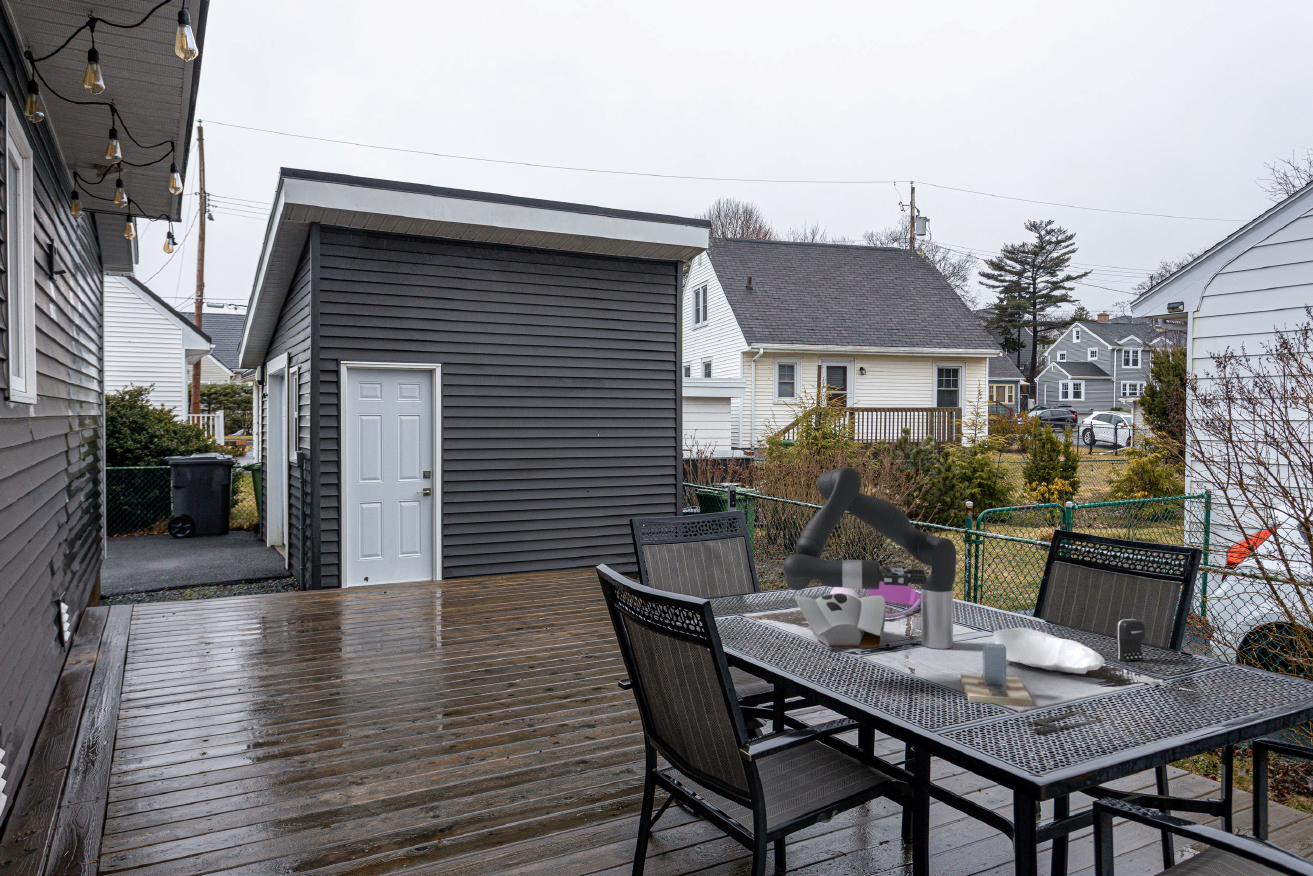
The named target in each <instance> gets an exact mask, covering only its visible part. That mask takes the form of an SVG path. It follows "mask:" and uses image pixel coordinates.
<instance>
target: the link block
mask: <svg viewBox="0 0 1313 876" xmlns="http://www.w3.org/2000/svg"><path fill="white" fill-rule="evenodd" d="M982 674H983V684H984V686H985V687H988V686H991V687H993V686H999V687H1004V688H1006V677H1007V660H1006V647H1005V645H1004V644H995V643H982Z"/></svg>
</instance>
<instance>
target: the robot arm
mask: <svg viewBox="0 0 1313 876" xmlns="http://www.w3.org/2000/svg"><path fill="white" fill-rule="evenodd" d="M861 483H862V482H861V477H860V475H859V473H858V472H857V470H855V469H854V468H852V467H849V466H848V467H845V466H844V467H839V468H836V469H832V470H828V471H826V472H823V473H822V474H821V475H819V477H817V481H816V488H817V491H818V493H819V494H820V496H821V497H822V498H823V499H824V500H825V501H826V502H825V503H824V505H823V506H822V507H821V508H820V509H819V511H818V512H817V513H816V514H815V515H813V517H812V518H810V520H809V521H808V522H807V524H806V526H805V527H804V528H803V530H802V532H801V535H800V536H799V538H798V540H797V543H796V547H795V554H793V555H790V556H788V557H787V558H786V559H785V560H784V561H783V564H782V568H783V569H782V570H783V575H784V576H783V577H784V581H785V584H786V585H787V587H789V588H790V589H791V590H793V591H798V592H799V591H803V590H804V589H806V588H807V587H808V586H809V585H810V583H811V582H812V580H816V581H819V582H820V584H821V585H822V587H825V588H826V587H827V588H828V587H829V588H834V587H844V588H850V589H854V590H868V589H871V590H878V589H879V582H880V581H882V582H884V585H901V586H909V587H910V585H911V584H912V585H920V594H921V605H920V612H921V614H920V616H921V617H920V620H921V621H920V625H921V627H920V631H921V632H920V633H921V634H920V635H921V636H920V641H921V642H920V644H921V645H922V646H923V647H927V648H932V649H939V650H940V649H950V648H951V649H952V648H953V647H954V606H953V605H954V599H953V598H954V597H953V596H954V595H953V593H954V592H953V590H954V587H953V586H954V584H955V580H956V569H957V568H956V567H957V565H956V564H957V550H956V549H957V548H956V546H955V544H954V542H953V541H952V540H951V539H949V538H947V537H942V536H936V535H935V536H934V535H930V534H927V533H925V532H923V531H920V530H919V529H918V528H916V527H915V526H913V525H912V524H911V522H910V519H909V517H908V515H907V514H906V513H905V511H902V509H900V508H899V507H897V506H896V505H895V504H893V503H892V502H889V501H888V500H885V499H882V498H880V497H876V496H873V495H868V494H865V493H861V492H860V489H861V487H862V484H861ZM846 512H848V513H849V514H851V515H852V516H854V517H855V518H857V519H858V520H859V521H861V522H863V523H865V524H866V525H868V526H869V527H870V528H872V529H873V530H874V531H876V532H877V533H878V534H880V535H881V536H884V537H885V538H887V539H889V540H890V541H892V542H893V543H895V544H896V545H899V546H900V547H901V548H903V549H904V550H905V551H907V552H908V553H909V554H910V555H911V556H912V557H913V558H915V560H917V562H919V563H921V564H923V565H924V566H930V567H931V570H930V575H929V576H926V574H925V570H924V569H915V568H914V569H913V568H908V567H905V566H886V565H885V566H882V568H880V561H878V560H873V559H871V560H869V559H868V560H866V559H865V560H864V559H846V560H834V559H833V560H832V559H828V560H827V559H823V558H821V557H820V556H821V554H822V552H823V550H824V548H825V546H826V544H827V543H828V540H829V539H830V536H831V535H832V532H834V529H835V527H836V526H837V524H838V523H839V521H840V520H841V518H842V517H843V516H844V514H845V513H846Z"/></svg>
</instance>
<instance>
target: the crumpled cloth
mask: <svg viewBox="0 0 1313 876" xmlns="http://www.w3.org/2000/svg"><path fill="white" fill-rule="evenodd" d="M992 635H993V636H992V637H993V639H994V644H1004V645H1005V647H1006V662H1007V661H1009V662H1013V663H1020V664H1022V665H1026V666H1030V667H1034V668H1040V669H1044V670H1047V671H1053V672H1054V671H1057V672H1065V673H1068V674H1069V673H1074V674H1080V675H1081V674H1082V675H1083V674H1087V672H1088V671H1096V670H1099V669H1100V668H1101V667H1103V665H1104V664H1105V662H1106V661H1105V658H1104V657H1103V656H1102V655H1101V654H1100V653H1098V652H1097V651H1095V650H1093V649H1092V648H1090V647H1089V646H1086V645H1084V644H1083V643H1081V642H1078V641H1076V640H1072V639H1067V638H1059V637H1057V636H1055V635H1052V634H1049V633H1046V632H1042V631H1038V630H1035V629H1032V628H1028V627H1027V628H1026V627H1013V628H1002V629H998V630H995V631H993V632H992Z"/></svg>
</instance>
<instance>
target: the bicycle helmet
mask: <svg viewBox="0 0 1313 876" xmlns="http://www.w3.org/2000/svg"><path fill="white" fill-rule="evenodd" d="M794 599H795V601H796V603H797V605H798V607H799V609H800V611H801V613H802V615H803V616H804V618H805V620H806V621H807V623H808V624H809V627H810V629H811V632H812V635H813V636H814V637H815V638H816V639H817V640H819V641H820V642H822V643H823V644H824V645H825V646H827V647H858V648H879V646H880V645H881V644H882V641H883V638H884V631H885V624H886V618H885V614H886V601H885V600H884V597H883V596H881V595H878V596H868V595H867V596H863V597H860V598H856V597H853V596H851V595H848V594H842V593H834V594H830V593H828V594H824V595H821V596H819V597H817V598H816V599H815V598H812V597H808V596H804V595H803V596H802V595H794Z"/></svg>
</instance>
